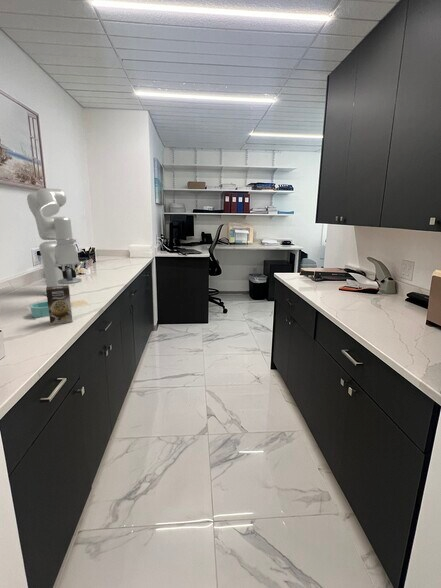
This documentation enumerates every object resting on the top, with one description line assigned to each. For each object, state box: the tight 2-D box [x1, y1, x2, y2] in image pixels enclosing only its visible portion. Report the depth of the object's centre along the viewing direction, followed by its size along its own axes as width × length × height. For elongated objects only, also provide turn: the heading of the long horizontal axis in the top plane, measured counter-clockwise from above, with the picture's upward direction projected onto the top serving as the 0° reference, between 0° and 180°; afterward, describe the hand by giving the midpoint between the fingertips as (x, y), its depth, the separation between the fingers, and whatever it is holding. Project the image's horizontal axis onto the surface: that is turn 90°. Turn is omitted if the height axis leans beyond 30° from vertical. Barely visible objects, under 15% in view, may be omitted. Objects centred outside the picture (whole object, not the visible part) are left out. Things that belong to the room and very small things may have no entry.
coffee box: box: [45, 284, 74, 326], centre depth 138 cm, size 9×6×16 cm
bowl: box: [29, 301, 49, 319], centre depth 149 cm, size 11×11×5 cm
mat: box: [70, 299, 89, 308], centre depth 166 cm, size 11×11×1 cm
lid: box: [58, 267, 82, 285], centre depth 160 cm, size 11×11×7 cm
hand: (69, 277), depth 160 cm, fingers closed on lid, 3 cm apart
